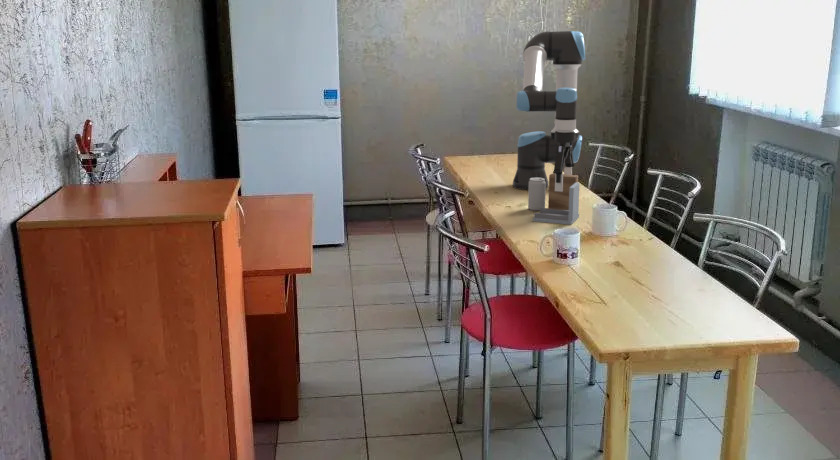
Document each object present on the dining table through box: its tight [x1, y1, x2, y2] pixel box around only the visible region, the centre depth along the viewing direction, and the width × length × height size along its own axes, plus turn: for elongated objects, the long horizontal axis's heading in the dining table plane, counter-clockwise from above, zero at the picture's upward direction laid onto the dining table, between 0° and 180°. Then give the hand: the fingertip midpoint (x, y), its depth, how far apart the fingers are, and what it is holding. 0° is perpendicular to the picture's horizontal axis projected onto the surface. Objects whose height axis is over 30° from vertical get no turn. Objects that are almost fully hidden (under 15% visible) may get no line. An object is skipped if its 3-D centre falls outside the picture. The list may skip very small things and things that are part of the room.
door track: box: [532, 182, 581, 225], centre depth 285 cm, size 12×14×13 cm
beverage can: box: [527, 178, 547, 212], centre depth 299 cm, size 6×6×12 cm
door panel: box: [547, 173, 579, 210], centre depth 295 cm, size 4×10×14 cm, turn 66°
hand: (563, 187), depth 294 cm, fingers open, 13 cm apart
